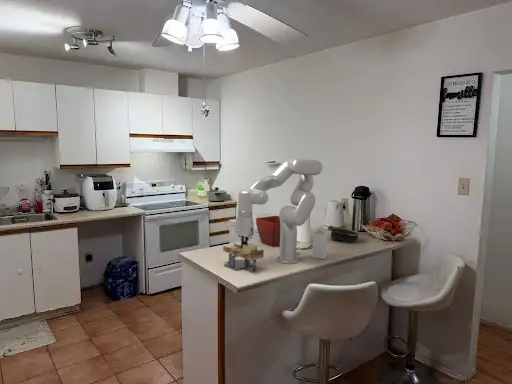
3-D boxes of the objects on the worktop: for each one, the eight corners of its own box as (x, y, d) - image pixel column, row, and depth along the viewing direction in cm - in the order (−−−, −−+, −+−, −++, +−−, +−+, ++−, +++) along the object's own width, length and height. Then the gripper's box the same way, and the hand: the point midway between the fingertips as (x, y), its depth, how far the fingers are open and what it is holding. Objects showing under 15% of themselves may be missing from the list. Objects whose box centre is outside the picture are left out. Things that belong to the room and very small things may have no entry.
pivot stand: (219, 264, 195) (219, 252, 194) (238, 259, 205) (238, 247, 204) (245, 274, 181) (245, 261, 180) (264, 268, 191) (265, 256, 190)
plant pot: (272, 249, 228) (273, 223, 226) (254, 242, 243) (254, 218, 241) (294, 244, 240) (295, 220, 238) (275, 238, 255) (276, 215, 253)
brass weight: (242, 253, 187) (242, 244, 186) (249, 252, 190) (249, 243, 190) (250, 256, 183) (250, 247, 182) (257, 254, 186) (257, 245, 186)
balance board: (223, 250, 196) (223, 243, 196) (235, 248, 202) (235, 241, 202) (251, 260, 181) (251, 253, 180) (263, 257, 187) (263, 250, 187)
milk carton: (312, 257, 212) (313, 226, 210) (314, 254, 218) (316, 224, 216) (324, 259, 209) (325, 227, 207) (326, 256, 216) (327, 225, 214)
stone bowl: (320, 239, 255) (321, 226, 254) (337, 236, 274) (338, 224, 274) (352, 246, 239) (354, 232, 239) (368, 242, 258) (369, 229, 258)
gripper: (230, 212, 191) (229, 246, 193) (249, 217, 180) (248, 252, 182) (240, 211, 196) (239, 244, 198) (260, 215, 186) (259, 249, 188)
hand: (244, 247), depth 190 cm, fingers closed
